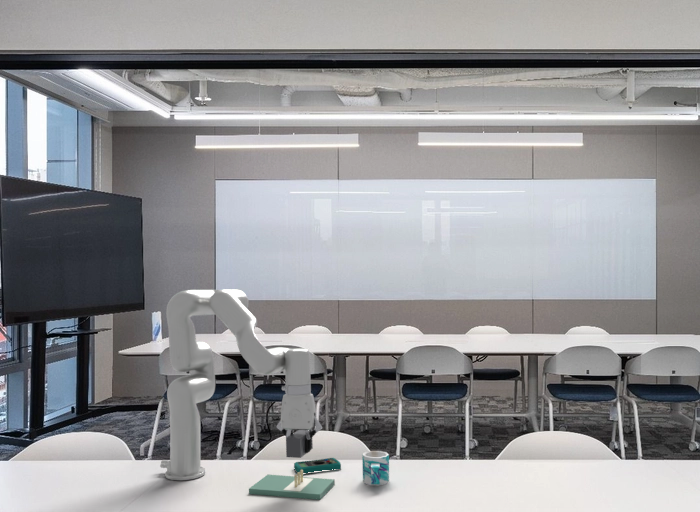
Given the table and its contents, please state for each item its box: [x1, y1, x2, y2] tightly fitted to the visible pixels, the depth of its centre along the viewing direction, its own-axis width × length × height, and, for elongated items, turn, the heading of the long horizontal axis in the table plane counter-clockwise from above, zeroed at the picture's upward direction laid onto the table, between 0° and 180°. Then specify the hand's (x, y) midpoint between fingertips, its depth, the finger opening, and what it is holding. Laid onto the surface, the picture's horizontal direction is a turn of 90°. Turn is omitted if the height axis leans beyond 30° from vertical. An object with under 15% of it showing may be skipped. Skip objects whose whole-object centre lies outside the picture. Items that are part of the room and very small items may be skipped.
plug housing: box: [285, 430, 314, 459], centre depth 186 cm, size 4×14×6 cm, turn 164°
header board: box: [248, 470, 336, 501], centre depth 185 cm, size 22×14×5 cm, turn 74°
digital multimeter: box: [293, 457, 342, 473], centre depth 204 cm, size 7×15×3 cm, turn 111°
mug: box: [361, 450, 390, 486], centre depth 189 cm, size 8×12×8 cm
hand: (299, 451), depth 184 cm, fingers closed on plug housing, 4 cm apart
